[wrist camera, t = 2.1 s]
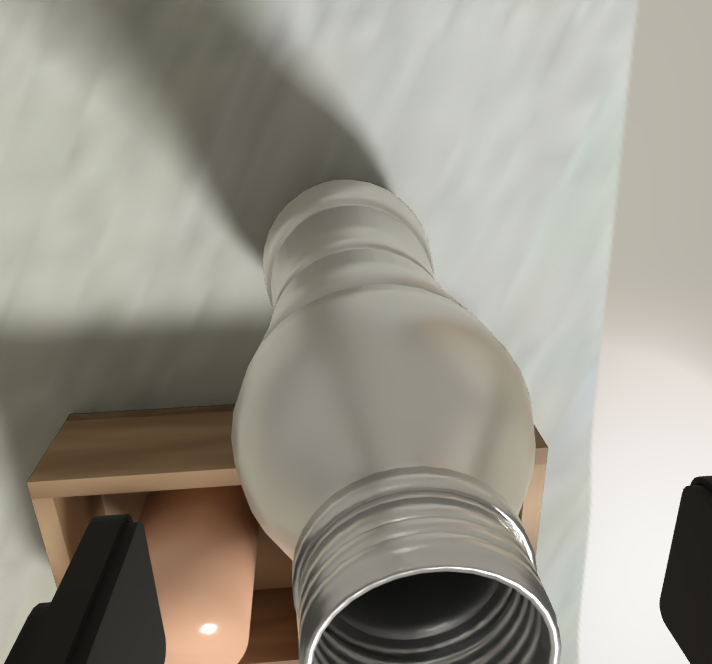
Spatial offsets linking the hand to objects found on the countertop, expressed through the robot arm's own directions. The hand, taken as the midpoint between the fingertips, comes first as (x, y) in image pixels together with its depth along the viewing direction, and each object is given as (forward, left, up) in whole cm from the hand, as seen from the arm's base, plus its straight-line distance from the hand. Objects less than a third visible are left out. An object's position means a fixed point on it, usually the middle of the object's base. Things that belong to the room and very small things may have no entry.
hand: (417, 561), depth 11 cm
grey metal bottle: (-1, 0, -18) cm, 18 cm away
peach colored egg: (+12, -8, -17) cm, 22 cm away
